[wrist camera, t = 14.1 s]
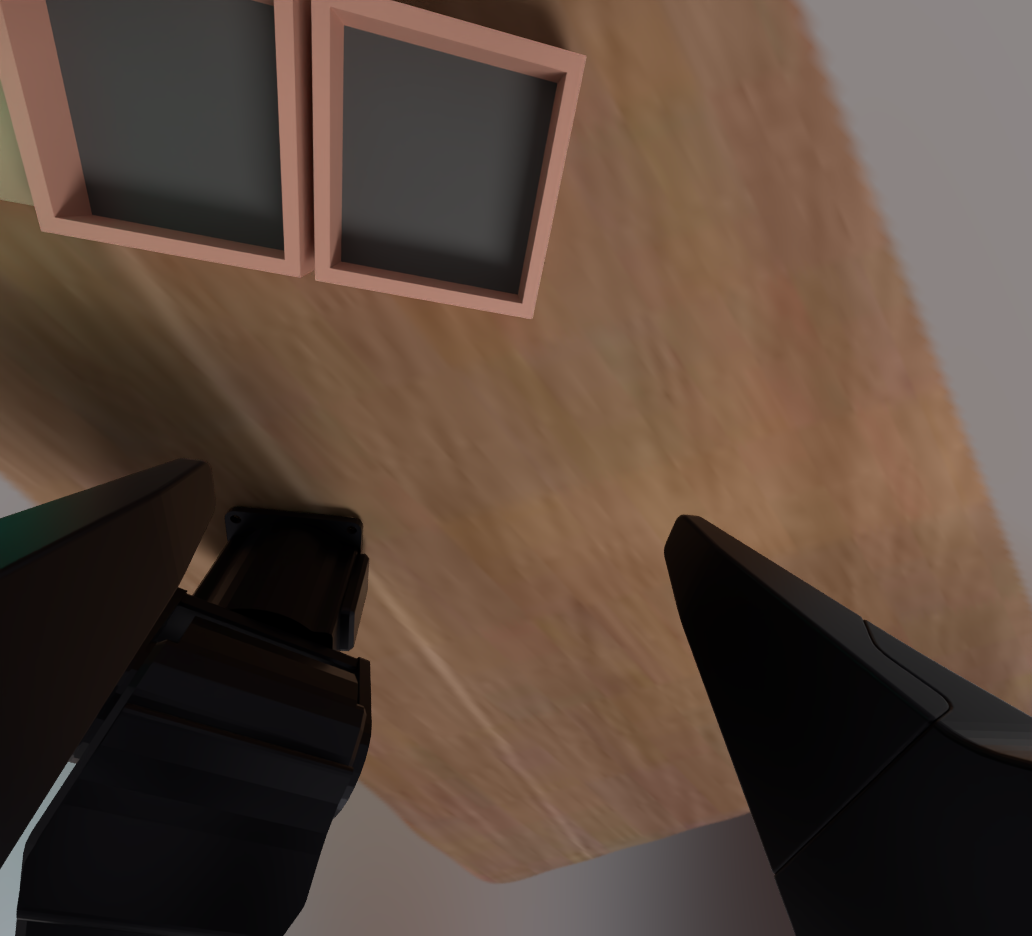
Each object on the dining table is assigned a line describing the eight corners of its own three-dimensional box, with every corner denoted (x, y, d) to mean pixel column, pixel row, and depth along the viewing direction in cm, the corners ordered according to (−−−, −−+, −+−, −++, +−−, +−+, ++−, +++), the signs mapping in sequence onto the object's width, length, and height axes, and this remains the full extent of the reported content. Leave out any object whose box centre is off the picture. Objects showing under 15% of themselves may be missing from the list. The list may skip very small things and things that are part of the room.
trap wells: (83, 226, 17) (41, 231, 15) (12, -87, 13) (-55, -128, 12) (526, 307, 20) (532, 319, 18) (573, 69, 16) (586, 55, 14)
